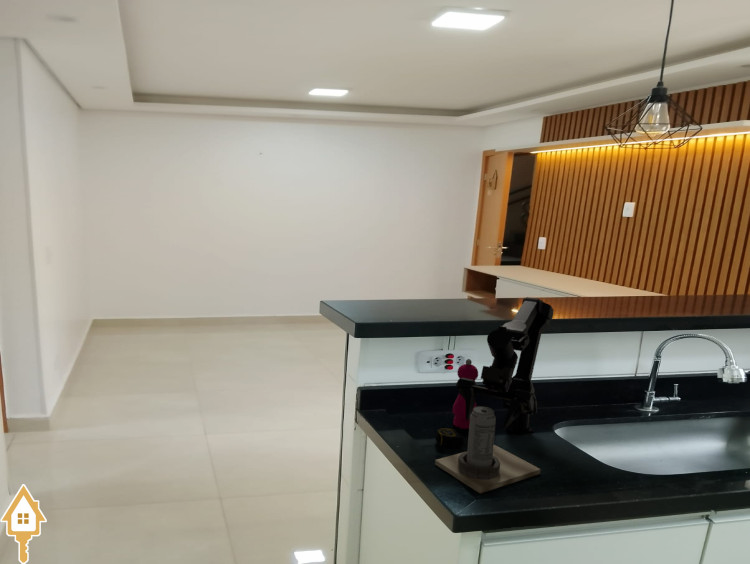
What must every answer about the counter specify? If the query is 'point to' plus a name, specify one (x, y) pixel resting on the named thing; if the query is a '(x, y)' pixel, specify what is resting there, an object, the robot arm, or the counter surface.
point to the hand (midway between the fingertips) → (484, 424)
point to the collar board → (506, 470)
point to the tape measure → (449, 438)
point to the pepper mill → (460, 405)
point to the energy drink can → (481, 437)
